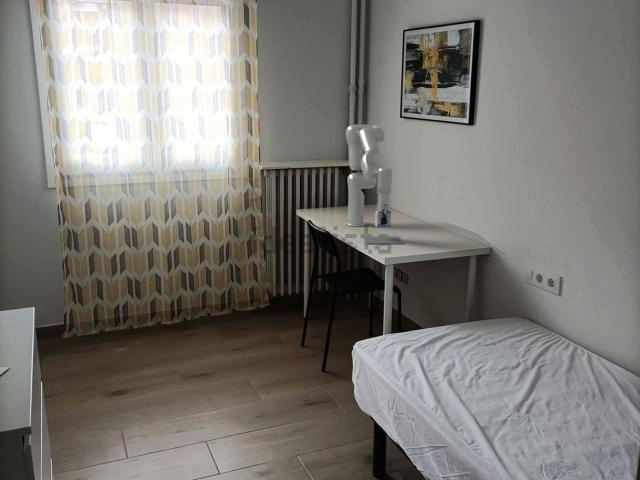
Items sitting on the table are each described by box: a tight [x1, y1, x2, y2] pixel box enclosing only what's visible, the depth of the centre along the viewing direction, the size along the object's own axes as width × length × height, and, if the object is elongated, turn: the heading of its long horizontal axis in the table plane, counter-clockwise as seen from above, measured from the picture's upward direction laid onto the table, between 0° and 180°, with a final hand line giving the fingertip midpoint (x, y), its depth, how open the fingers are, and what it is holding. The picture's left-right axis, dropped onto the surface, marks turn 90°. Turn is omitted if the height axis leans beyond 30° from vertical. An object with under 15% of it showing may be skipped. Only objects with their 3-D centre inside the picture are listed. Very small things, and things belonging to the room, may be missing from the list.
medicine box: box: [374, 210, 392, 228], centre depth 331 cm, size 8×4×9 cm, turn 101°
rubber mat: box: [363, 235, 405, 245], centre depth 331 cm, size 15×20×1 cm
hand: (382, 222), depth 332 cm, fingers closed on medicine box, 4 cm apart
